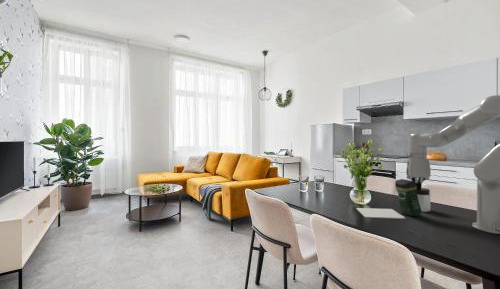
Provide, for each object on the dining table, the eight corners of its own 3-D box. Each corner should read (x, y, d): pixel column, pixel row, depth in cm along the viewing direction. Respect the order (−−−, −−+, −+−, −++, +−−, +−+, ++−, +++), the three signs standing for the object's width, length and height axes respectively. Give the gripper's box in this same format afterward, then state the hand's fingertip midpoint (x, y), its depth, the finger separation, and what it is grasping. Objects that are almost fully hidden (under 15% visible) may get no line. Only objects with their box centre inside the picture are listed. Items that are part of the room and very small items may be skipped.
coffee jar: (425, 213, 125) (418, 179, 124) (412, 217, 123) (405, 183, 123) (409, 208, 134) (403, 177, 134) (397, 212, 133) (391, 180, 132)
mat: (405, 218, 122) (405, 217, 122) (365, 217, 125) (365, 216, 125) (391, 209, 138) (391, 208, 138) (356, 208, 141) (356, 207, 141)
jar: (432, 209, 136) (432, 189, 136) (428, 212, 131) (428, 191, 131) (414, 206, 143) (414, 187, 143) (409, 209, 138) (409, 188, 138)
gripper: (406, 156, 125) (405, 191, 126) (437, 156, 123) (437, 192, 123) (399, 155, 133) (399, 188, 133) (429, 155, 130) (428, 188, 131)
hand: (417, 189), depth 128 cm, fingers closed
